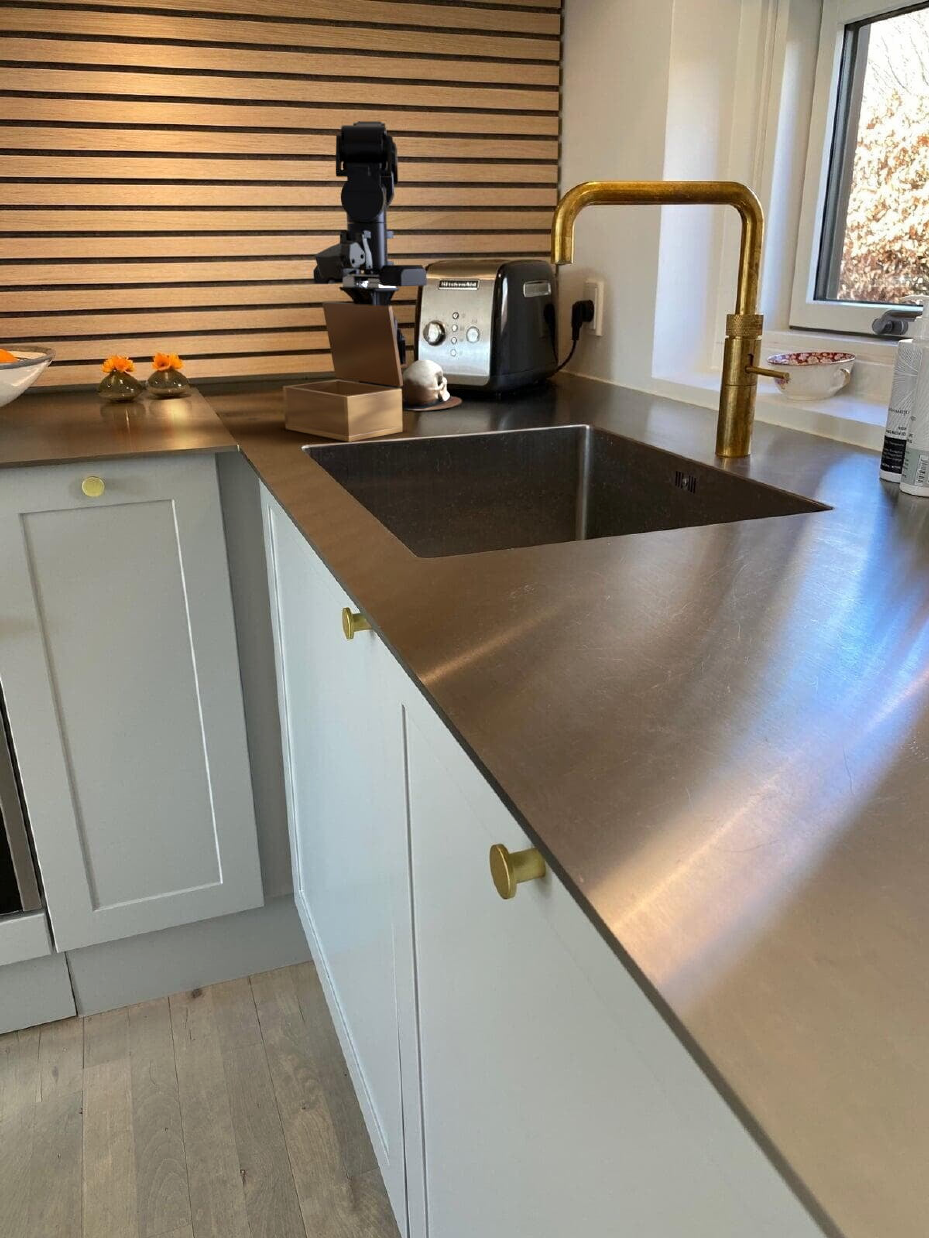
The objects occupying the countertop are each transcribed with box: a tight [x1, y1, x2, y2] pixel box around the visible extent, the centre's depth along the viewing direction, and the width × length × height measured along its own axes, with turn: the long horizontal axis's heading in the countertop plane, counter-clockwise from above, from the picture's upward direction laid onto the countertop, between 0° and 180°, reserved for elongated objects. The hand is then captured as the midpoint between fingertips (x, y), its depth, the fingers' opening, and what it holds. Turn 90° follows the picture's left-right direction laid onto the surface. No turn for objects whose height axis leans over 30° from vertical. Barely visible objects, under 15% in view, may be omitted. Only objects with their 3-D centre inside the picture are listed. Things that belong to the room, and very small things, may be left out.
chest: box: [282, 379, 404, 443], centre depth 140 cm, size 11×15×6 cm
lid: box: [321, 301, 403, 388], centre depth 140 cm, size 11×15×1 cm
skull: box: [400, 359, 463, 411], centre depth 162 cm, size 12×10×10 cm
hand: (370, 336), depth 141 cm, fingers closed
